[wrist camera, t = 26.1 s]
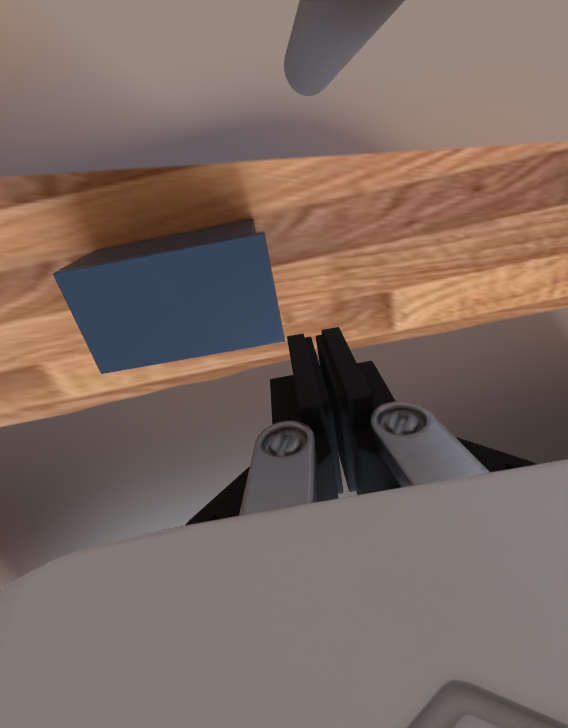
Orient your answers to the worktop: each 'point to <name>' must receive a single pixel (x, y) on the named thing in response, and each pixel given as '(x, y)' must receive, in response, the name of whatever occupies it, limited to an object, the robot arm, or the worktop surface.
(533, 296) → the worktop surface
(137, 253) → the chest
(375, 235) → the worktop surface
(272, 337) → the lid
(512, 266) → the worktop surface
